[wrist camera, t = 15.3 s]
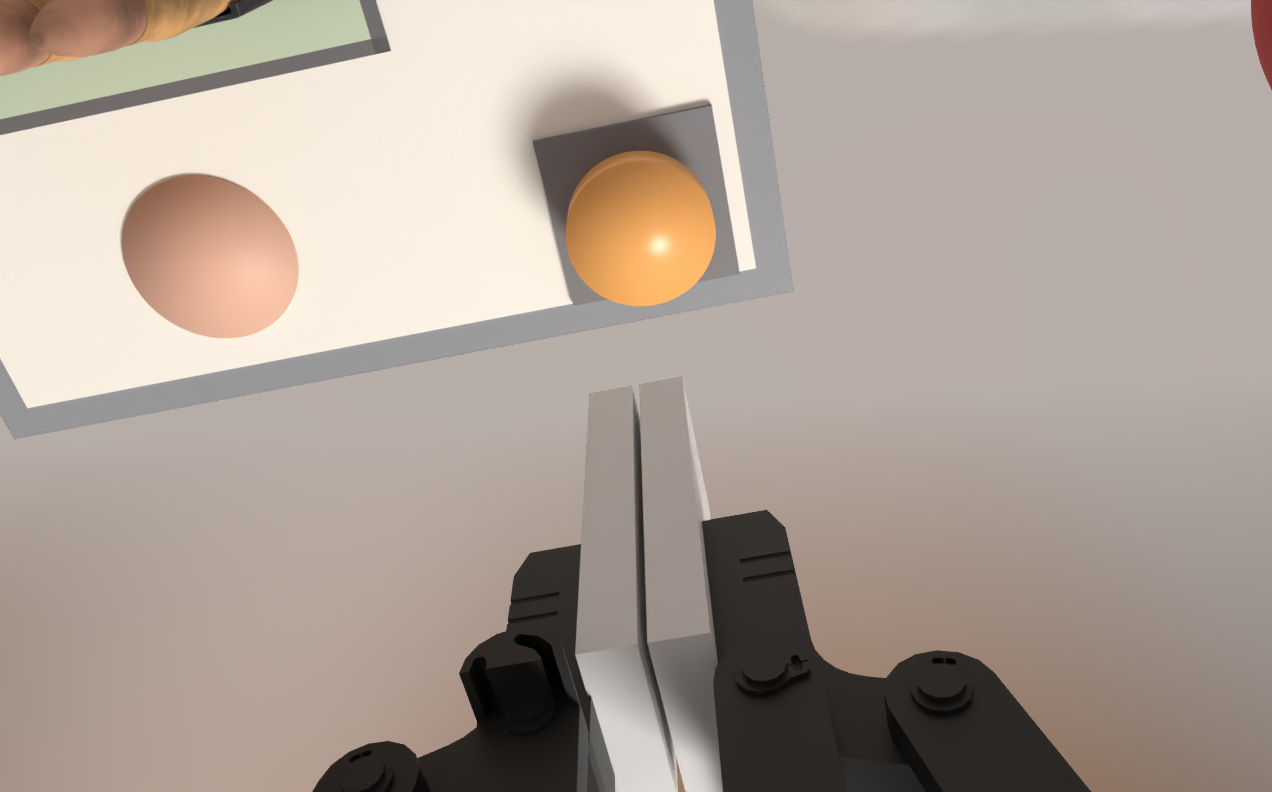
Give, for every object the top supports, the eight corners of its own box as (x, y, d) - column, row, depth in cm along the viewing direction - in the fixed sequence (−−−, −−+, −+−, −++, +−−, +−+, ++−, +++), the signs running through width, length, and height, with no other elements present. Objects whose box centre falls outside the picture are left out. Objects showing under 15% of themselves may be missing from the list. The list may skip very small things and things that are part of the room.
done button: (552, 167, 29) (549, 180, 28) (698, 137, 28) (702, 149, 27) (585, 301, 31) (584, 318, 30) (723, 274, 30) (727, 291, 29)
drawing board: (-260, -106, 27) (-299, -103, 26) (700, -338, 25) (704, -345, 24) (29, 423, 35) (9, 443, 34) (789, 278, 33) (794, 295, 32)
